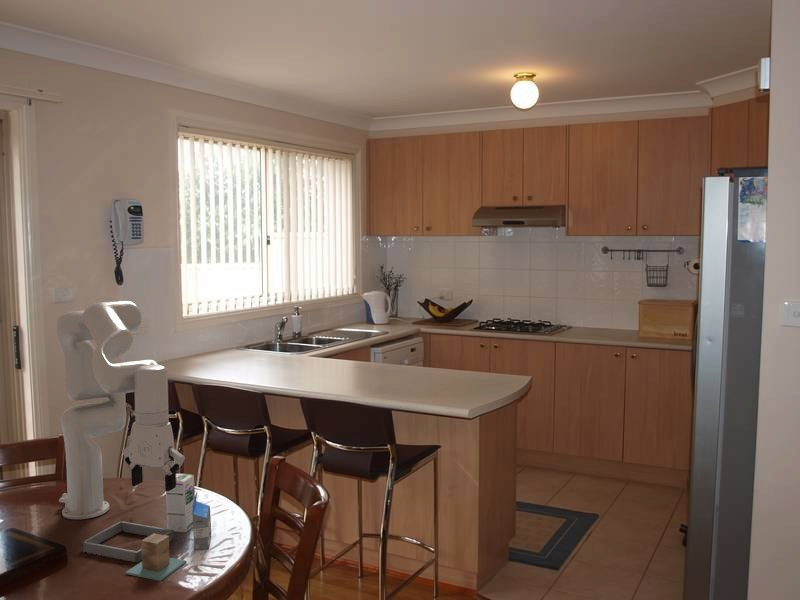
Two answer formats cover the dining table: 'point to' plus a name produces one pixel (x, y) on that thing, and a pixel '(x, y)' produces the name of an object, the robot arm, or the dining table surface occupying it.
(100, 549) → the grey rectangular frame
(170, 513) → the syrup box
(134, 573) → the mat
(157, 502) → the dining table surface
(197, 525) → the label tape box
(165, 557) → the wooden block
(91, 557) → the dining table surface
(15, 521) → the dining table surface
